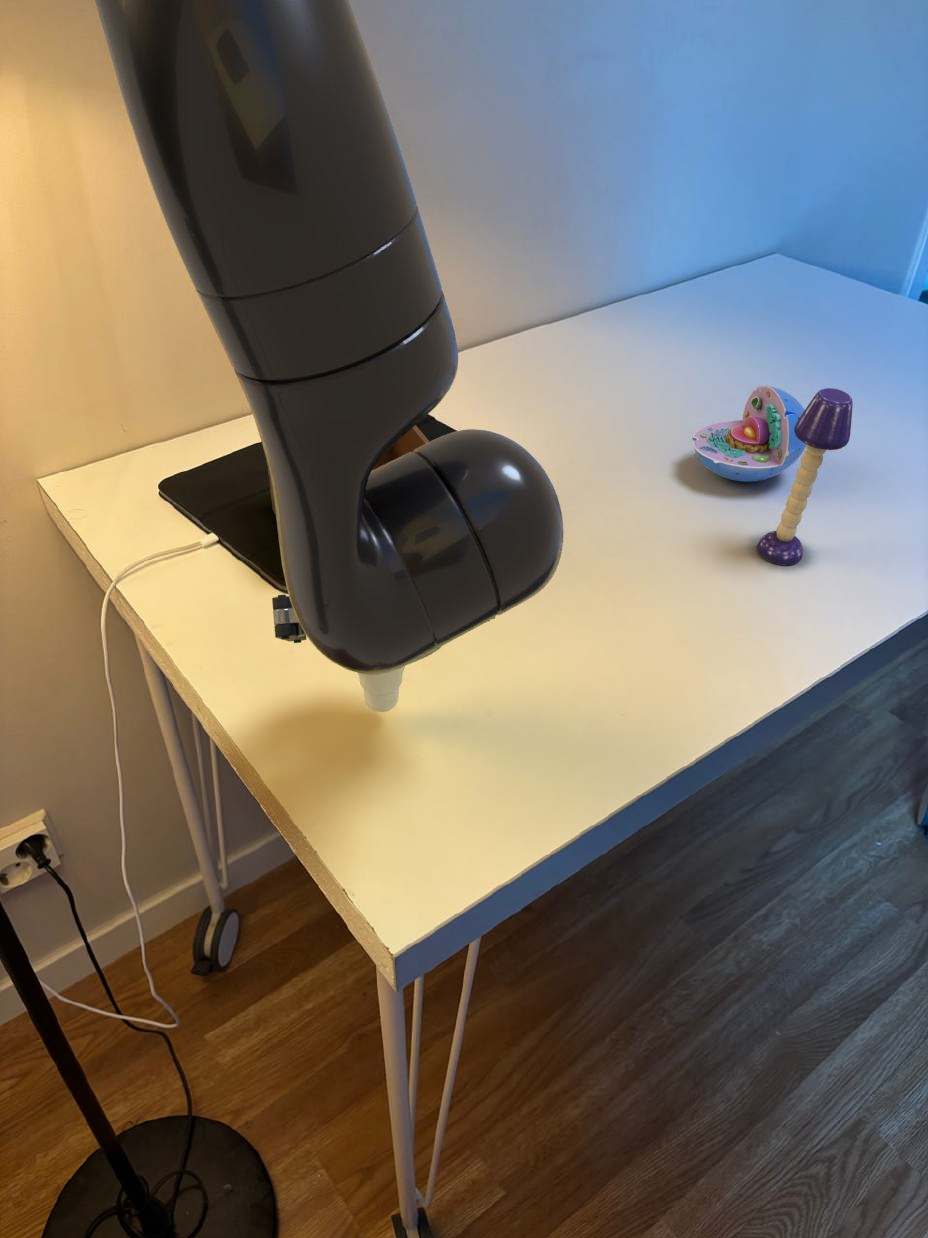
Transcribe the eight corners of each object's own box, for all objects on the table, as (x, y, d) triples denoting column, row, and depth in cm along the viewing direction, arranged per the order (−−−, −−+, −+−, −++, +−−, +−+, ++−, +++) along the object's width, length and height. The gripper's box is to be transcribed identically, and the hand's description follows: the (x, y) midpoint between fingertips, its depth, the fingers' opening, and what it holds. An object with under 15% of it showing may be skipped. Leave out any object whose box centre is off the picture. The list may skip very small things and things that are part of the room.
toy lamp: (797, 538, 93) (848, 380, 82) (816, 567, 89) (872, 407, 78) (750, 540, 92) (795, 382, 81) (767, 569, 89) (816, 408, 78)
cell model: (670, 455, 104) (686, 374, 98) (771, 446, 106) (793, 366, 100) (707, 506, 97) (727, 421, 90) (814, 495, 99) (841, 412, 93)
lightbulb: (385, 750, 69) (382, 635, 62) (323, 711, 71) (314, 597, 64) (438, 703, 72) (441, 590, 65) (378, 668, 75) (374, 555, 68)
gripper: (514, 519, 53) (470, 561, 70) (253, 538, 51) (271, 577, 68) (528, 653, 53) (480, 663, 69) (265, 677, 51) (280, 682, 67)
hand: (377, 621), depth 68 cm, fingers closed on lightbulb, 6 cm apart
